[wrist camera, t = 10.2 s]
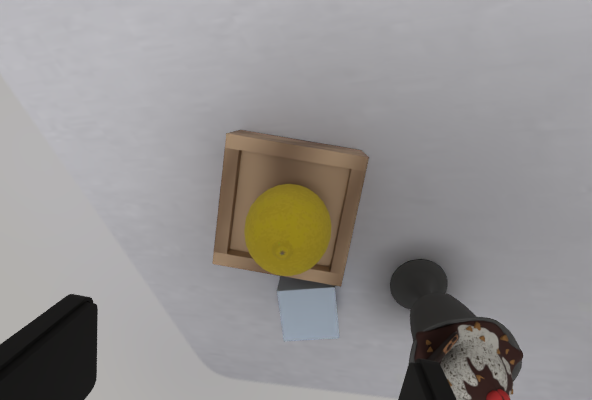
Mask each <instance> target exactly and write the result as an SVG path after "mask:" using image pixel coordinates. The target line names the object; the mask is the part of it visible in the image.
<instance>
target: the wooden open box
mask: <svg viewBox="0 0 592 400" xmlns="http://www.w3.org/2000/svg"><path fill="white" fill-rule="evenodd" d="M368 159H369V157H368V156H367V155H366V154H365V153H364V152H363V151H361V150H357V149H351V148H345V147H339V146H333V145H327V144H321V143H315V142H310V141H304V140H298V139H292V138H286V137H280V136H274V135H268V134H262V133H256V132H250V131H244V130H238V131H234V132H230V133H226V143H225V152H224V161H223V171H222V180H221V189H220V199H219V208H218V217H217V227H216V236H215V245H214V254H213V264H217V265H222V266H228V267H233V268H239V269H245V270H250V271H256V272H262V273H267V274H272V273H270V272H268V271H266V270H264V269H263V268H262V267H260V266H259V265H258V264H257V263H256V262H255V261H254V259H253V258H252V257H251V255H250V253H249V251H248V248H247V246H246V242H245V234H244V229H245V221H246V217H247V214H248V212H249V209H250V207H251V205H252V204H253V203H254V202H255V200H256V199H257V198H258V197H259V196H260V195H261V194H262V193H264V192H265V191H266V190H268V189H270V188H273V187H275V186H277V185H283V184H295V185H300V186H303V187H306V188H308V189H310V190H311V191H313V192H314V193H315V194H317V195H318V196H319V198H320V199H321V200H322V201H323V202H324V204H325V206H326V208H327V210H328V212H329V215H330V220H331V225H332V226H331V238H330V242H329V244H328V247H327V250H326V252H325V253H324V255H323V256H322V258H321V259H320V261H319V262H318V263H317V264H315V265H314V266H313V267H312V268H311V269H309V270H307V271H305V272H303V273H301V274H298V275H293V276H284V277H290V278H296V279H301V280H307V281H312V282H318V283H324V284H329V285H335V286H341V284H342V280H343V275H344V270H345V266H346V261H347V256H348V252H349V247H350V243H351V238H352V233H353V229H354V224H355V219H356V215H357V210H358V206H359V201H360V196H361V192H362V187H363V182H364V178H365V173H366V169H367V164H368ZM273 275H276V274H273ZM279 276H280V275H279Z"/></svg>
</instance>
